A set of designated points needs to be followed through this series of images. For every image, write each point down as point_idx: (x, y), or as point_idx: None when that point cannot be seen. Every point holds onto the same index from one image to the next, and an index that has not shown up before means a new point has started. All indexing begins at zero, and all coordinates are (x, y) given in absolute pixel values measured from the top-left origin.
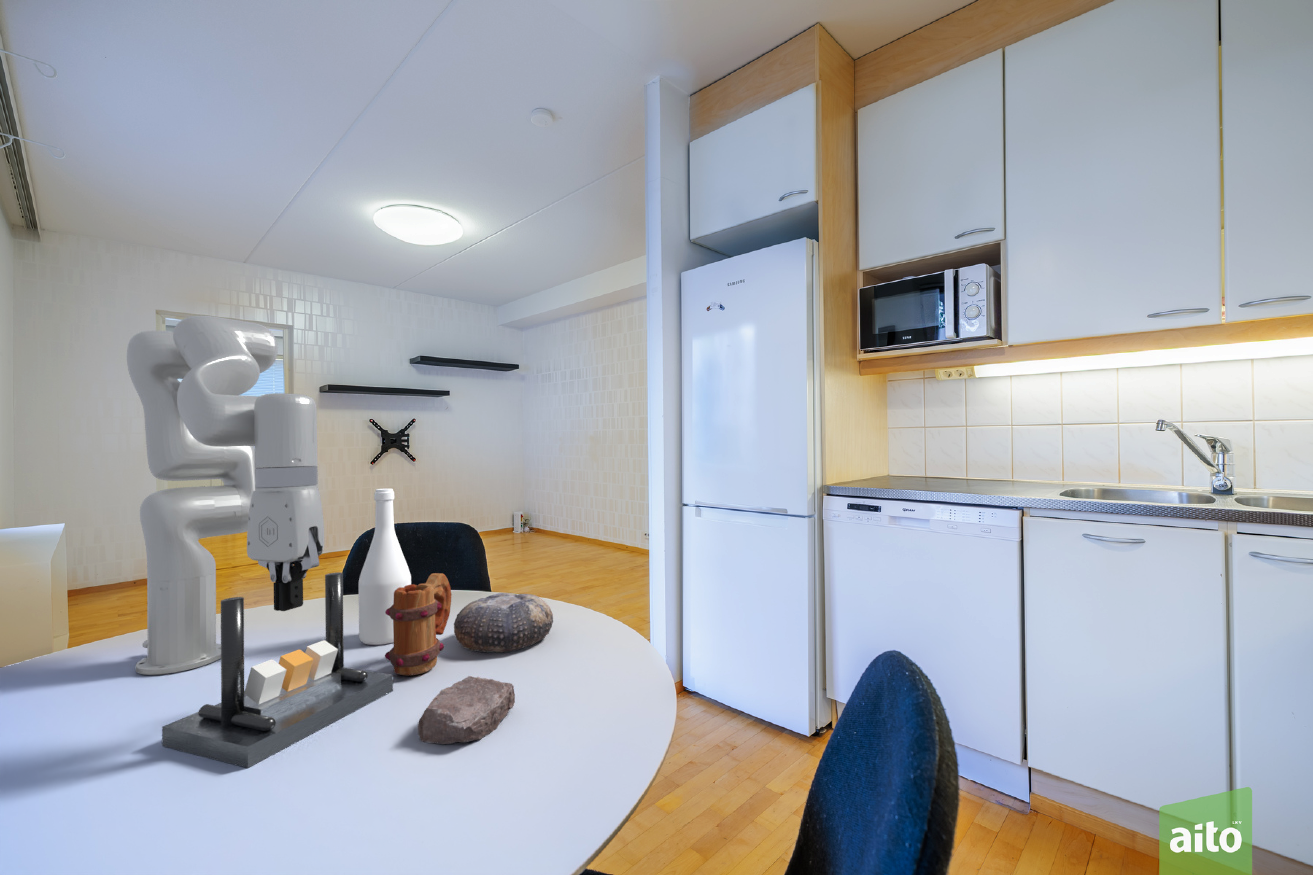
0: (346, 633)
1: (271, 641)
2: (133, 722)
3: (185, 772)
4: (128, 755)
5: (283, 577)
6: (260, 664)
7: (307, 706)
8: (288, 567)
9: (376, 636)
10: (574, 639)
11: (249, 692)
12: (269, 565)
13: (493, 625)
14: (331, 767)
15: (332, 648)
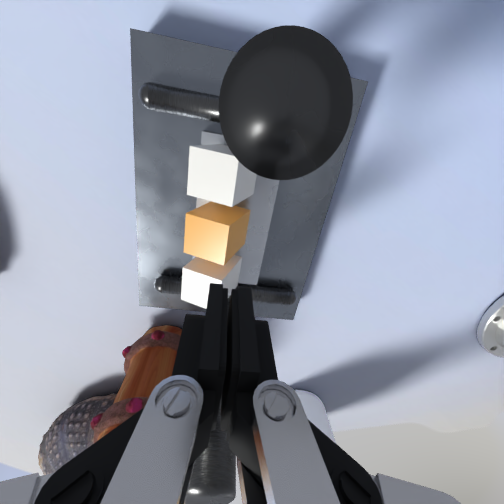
0: (355, 409)
1: (442, 379)
2: (463, 149)
3: (236, 7)
4: (385, 47)
5: (195, 405)
6: (233, 176)
7: (173, 191)
8: (120, 485)
9: None
10: (38, 436)
11: None
12: (330, 492)
13: (79, 432)
14: (6, 64)
15: (188, 297)
